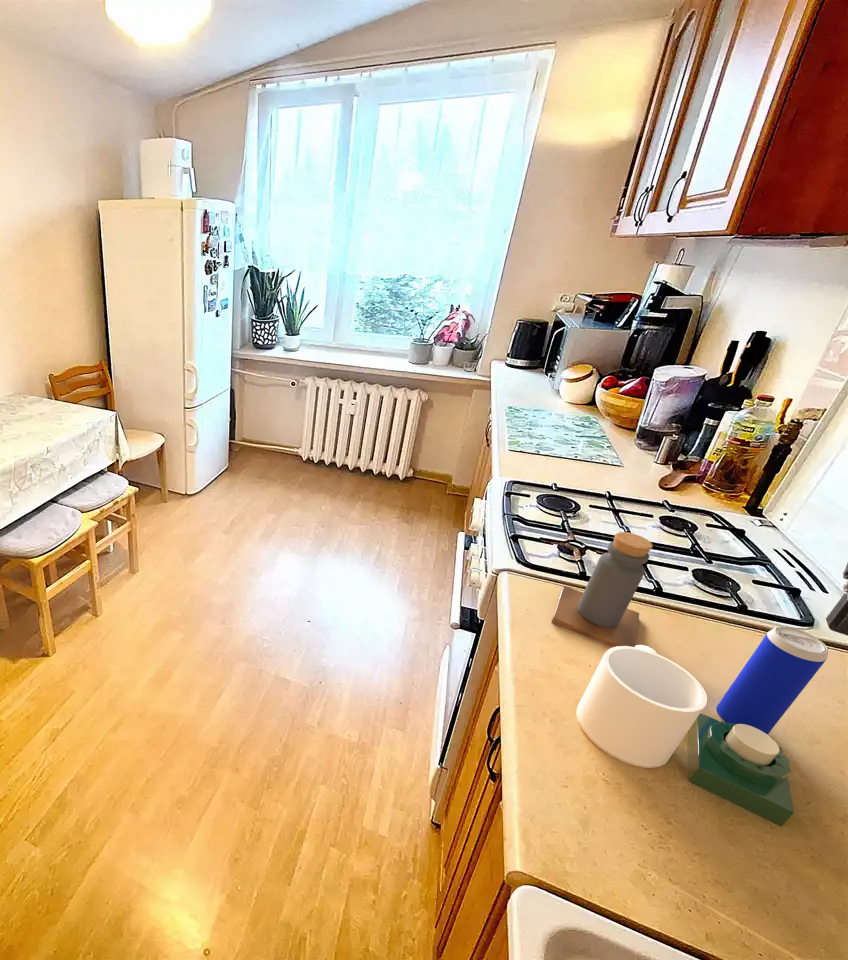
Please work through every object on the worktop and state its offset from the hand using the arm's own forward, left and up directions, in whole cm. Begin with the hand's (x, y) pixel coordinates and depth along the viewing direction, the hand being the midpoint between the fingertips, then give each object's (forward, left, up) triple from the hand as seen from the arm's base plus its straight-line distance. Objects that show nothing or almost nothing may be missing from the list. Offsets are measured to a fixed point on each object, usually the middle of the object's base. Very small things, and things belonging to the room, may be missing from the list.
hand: (840, 629), depth 52 cm
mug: (+11, +1, -23) cm, 26 cm away
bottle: (+16, -21, -22) cm, 35 cm away
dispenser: (0, 0, -23) cm, 23 cm away
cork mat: (+16, -21, -23) cm, 35 cm away
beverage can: (-1, -10, -23) cm, 25 cm away
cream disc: (0, 0, -19) cm, 19 cm away
